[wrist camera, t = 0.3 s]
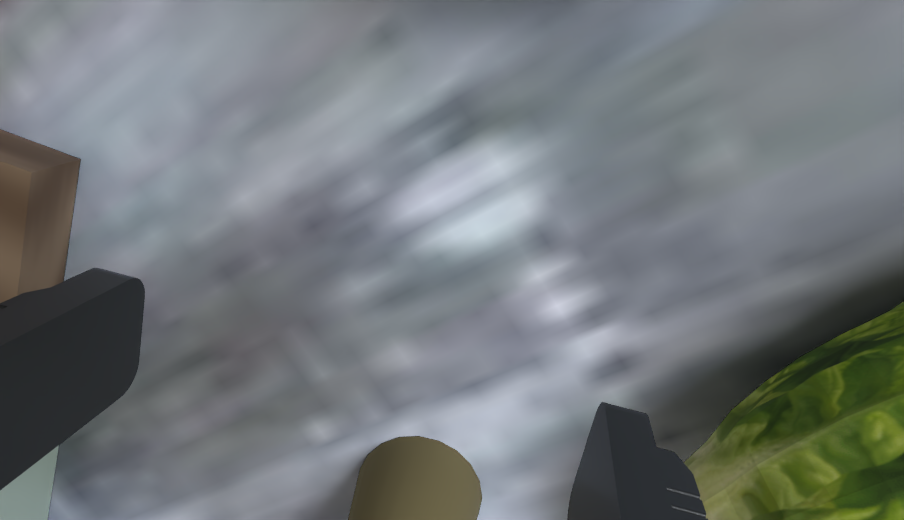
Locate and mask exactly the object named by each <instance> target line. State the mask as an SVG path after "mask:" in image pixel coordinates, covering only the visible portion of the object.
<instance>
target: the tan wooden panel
mask: <svg viewBox="0 0 904 520" xmlns="http://www.w3.org/2000/svg"><path fill="white" fill-rule="evenodd" d="M80 161H81V159H79V158H76V157H73V156H71V155H68V154H65V153H63V152H60V151H57V150H54V149H52V148H49V147H46V146H44V145H41V144H38V143H36V142H33V141H30V140H28V139H25V138H22V137H20V136H17V135H14V134H12V133H9V132H6V131H3V130H1V129H0V303H2V302H4V301H6V300H9V299H11V298H13V297H15V296H18V295H20V294H22V293H25V292H30V291H35V290H40V289H45V288H50V287H52V286H55V285H57V284H59V283H61V282H63V280H64V273H65V266H66V259H67V252H68V245H69V238H70V231H71V224H72V217H73V210H74V203H75V196H76V189H77V182H78V175H79V168H80Z"/></svg>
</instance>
